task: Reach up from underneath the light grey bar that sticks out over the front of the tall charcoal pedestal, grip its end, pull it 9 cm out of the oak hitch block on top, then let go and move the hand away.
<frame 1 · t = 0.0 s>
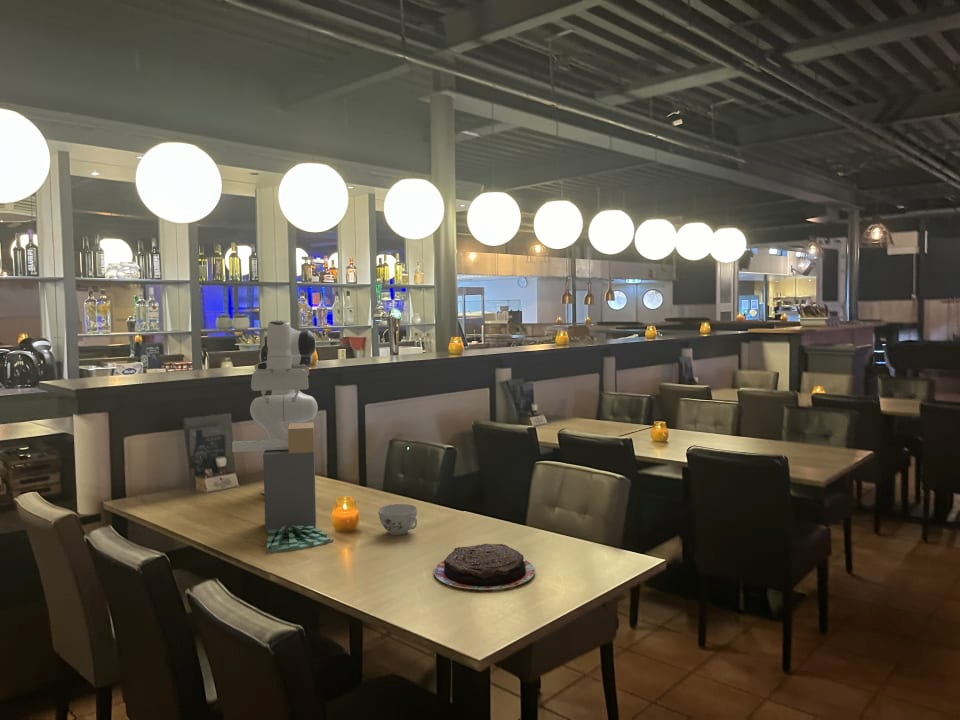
hand: (280, 402, 269), 39 cm above the table, tool pointing down, fingers open, 8 cm apart
pedestal: (291, 526, 248), on the table
chocolate cake: (484, 575, 204), on the table
teacup: (400, 534, 240), on the table
light grey bar: (270, 445, 245), point 28 cm above the table, slide at 0.0 cm
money: (292, 545, 230), on the table
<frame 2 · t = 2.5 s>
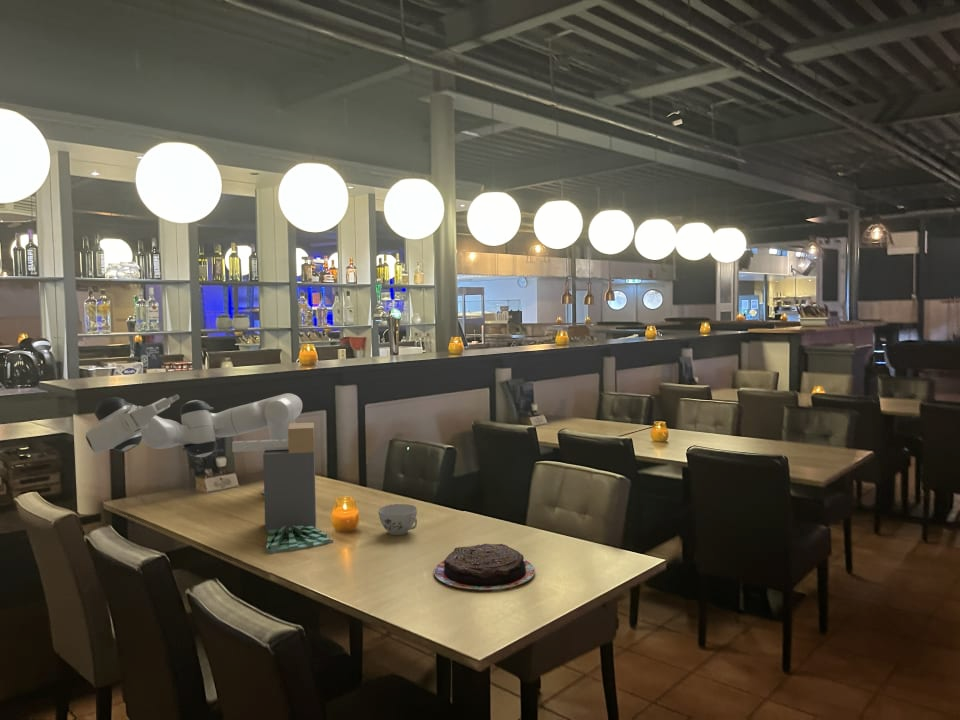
hand: (174, 398, 241), 44 cm above the table, tool pointing upward, fingers open, 8 cm apart
nothing on the table moved.
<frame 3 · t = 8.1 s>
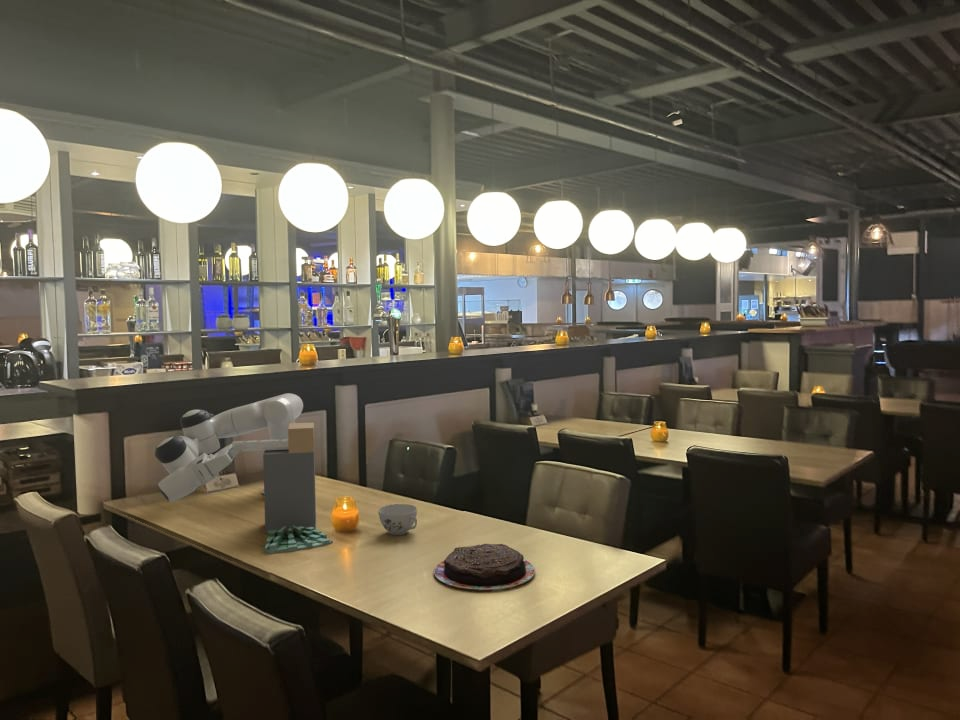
hand: (244, 444, 243), 28 cm above the table, tool pointing upward, fingers closed on light grey bar, 3 cm apart
light grey bar: (270, 445, 245), point 28 cm above the table, slide at 0.0 cm, touching gripper
everything else where it was.
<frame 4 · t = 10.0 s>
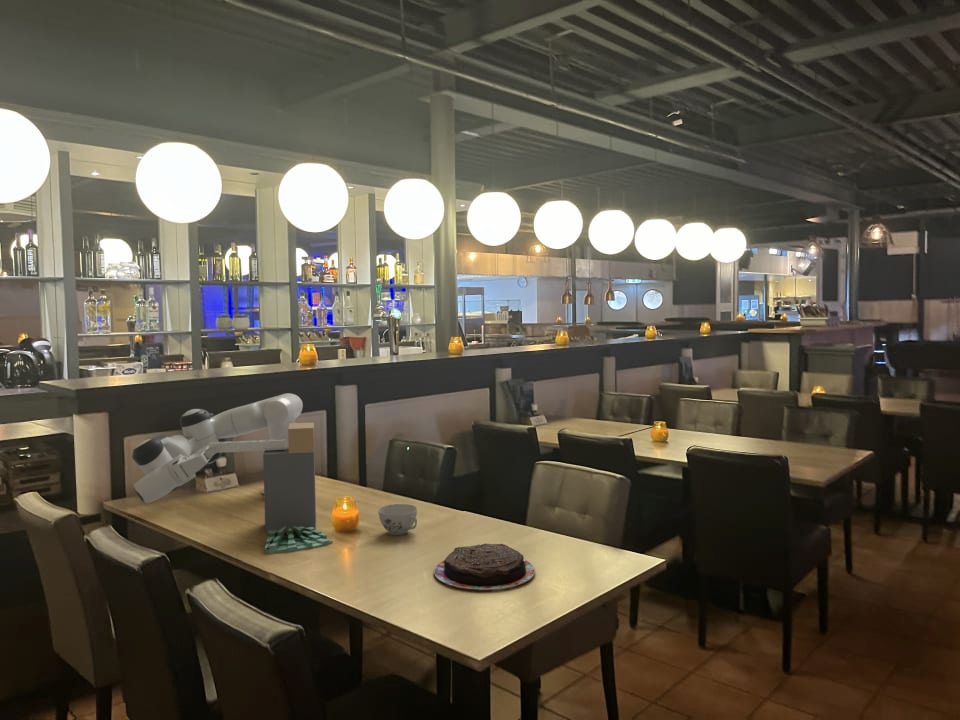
hand: (221, 445, 242), 28 cm above the table, tool pointing upward, fingers closed on light grey bar, 3 cm apart
light grey bar: (247, 446, 243), point 28 cm above the table, slide at 7.3 cm, touching gripper
everything else where it was.
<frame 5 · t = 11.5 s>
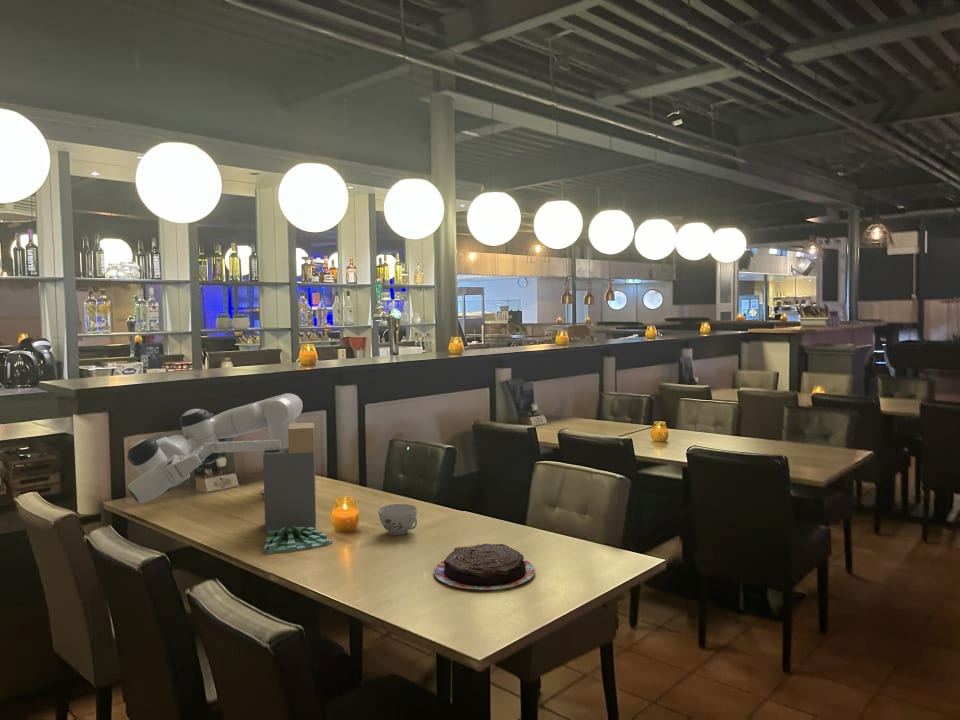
hand: (216, 445, 241), 28 cm above the table, tool pointing upward, fingers open, 8 cm apart
light grey bar: (242, 446, 243), point 28 cm above the table, slide at 9.0 cm
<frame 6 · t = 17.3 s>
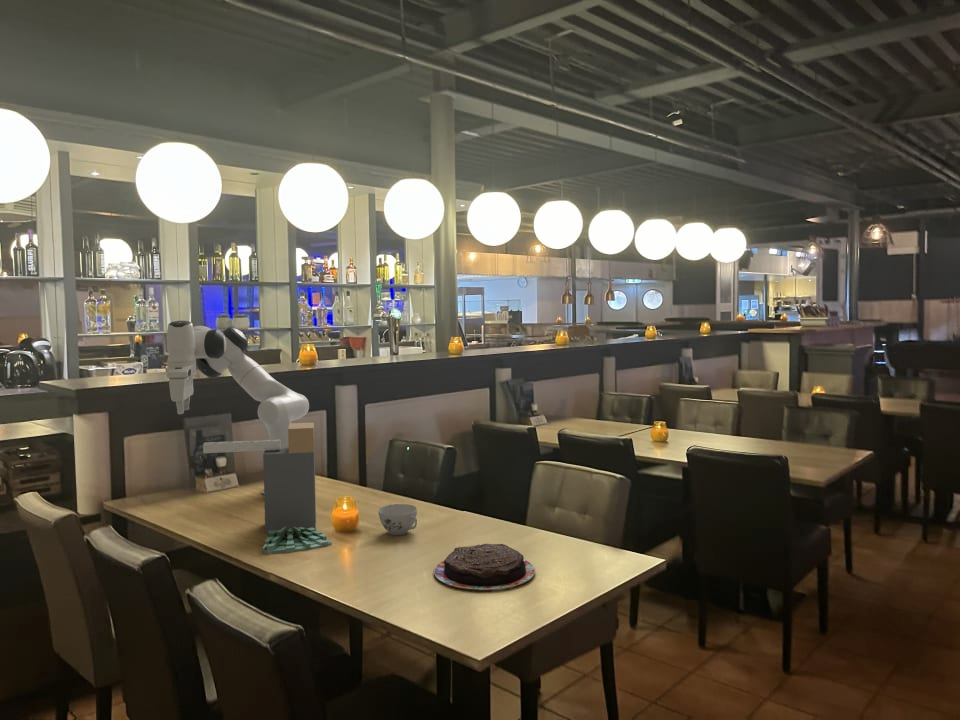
hand: (183, 412, 244), 39 cm above the table, tool pointing down, fingers open, 8 cm apart
at the end: light grey bar slide at 9.0 cm; the gripper is holding nothing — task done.
